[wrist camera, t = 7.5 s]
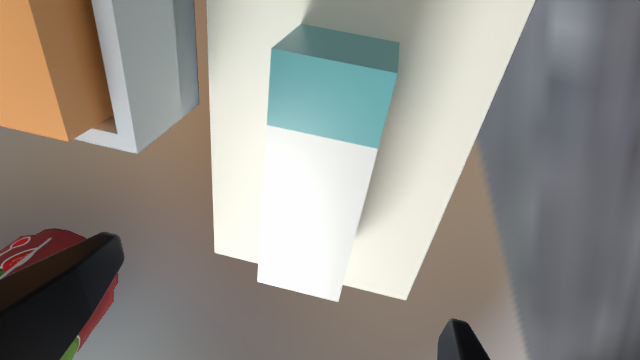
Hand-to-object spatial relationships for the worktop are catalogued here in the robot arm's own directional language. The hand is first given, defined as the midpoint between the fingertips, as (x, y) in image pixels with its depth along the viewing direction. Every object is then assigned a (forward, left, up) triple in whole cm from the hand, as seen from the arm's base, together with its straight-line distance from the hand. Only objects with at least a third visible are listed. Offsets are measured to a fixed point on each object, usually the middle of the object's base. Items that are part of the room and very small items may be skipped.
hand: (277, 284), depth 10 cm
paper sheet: (0, 0, -8) cm, 8 cm away
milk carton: (0, 0, -8) cm, 8 cm away
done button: (+4, +9, -4) cm, 11 cm away
